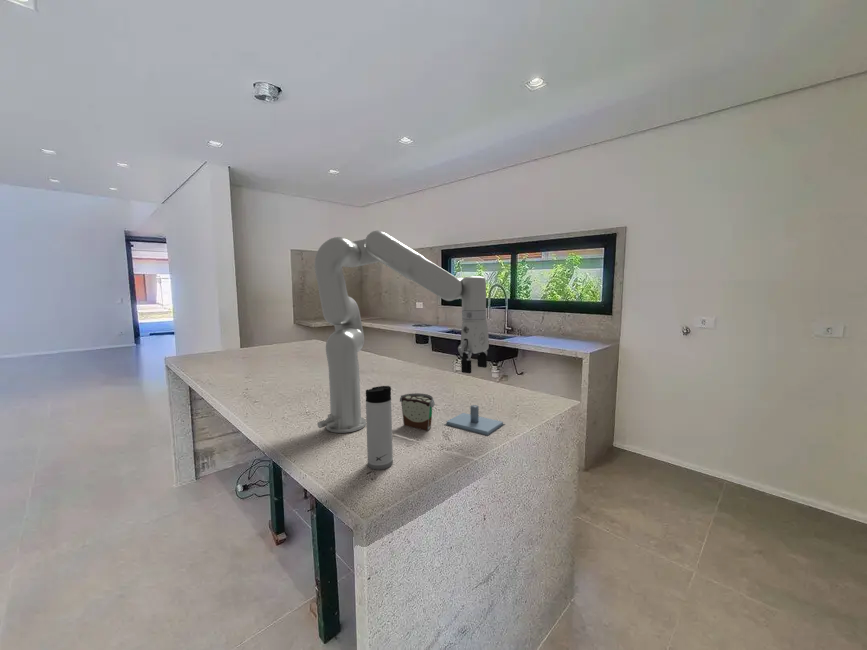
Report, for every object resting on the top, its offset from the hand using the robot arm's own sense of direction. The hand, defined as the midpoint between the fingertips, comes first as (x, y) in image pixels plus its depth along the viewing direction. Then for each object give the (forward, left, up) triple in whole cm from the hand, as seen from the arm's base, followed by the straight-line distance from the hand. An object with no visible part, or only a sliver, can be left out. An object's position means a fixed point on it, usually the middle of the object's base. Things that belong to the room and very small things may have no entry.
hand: (474, 369), depth 114 cm
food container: (-10, +14, -19) cm, 25 cm away
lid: (0, 0, -18) cm, 18 cm away
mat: (0, 0, -18) cm, 18 cm away
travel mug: (-36, +6, -19) cm, 41 cm away
